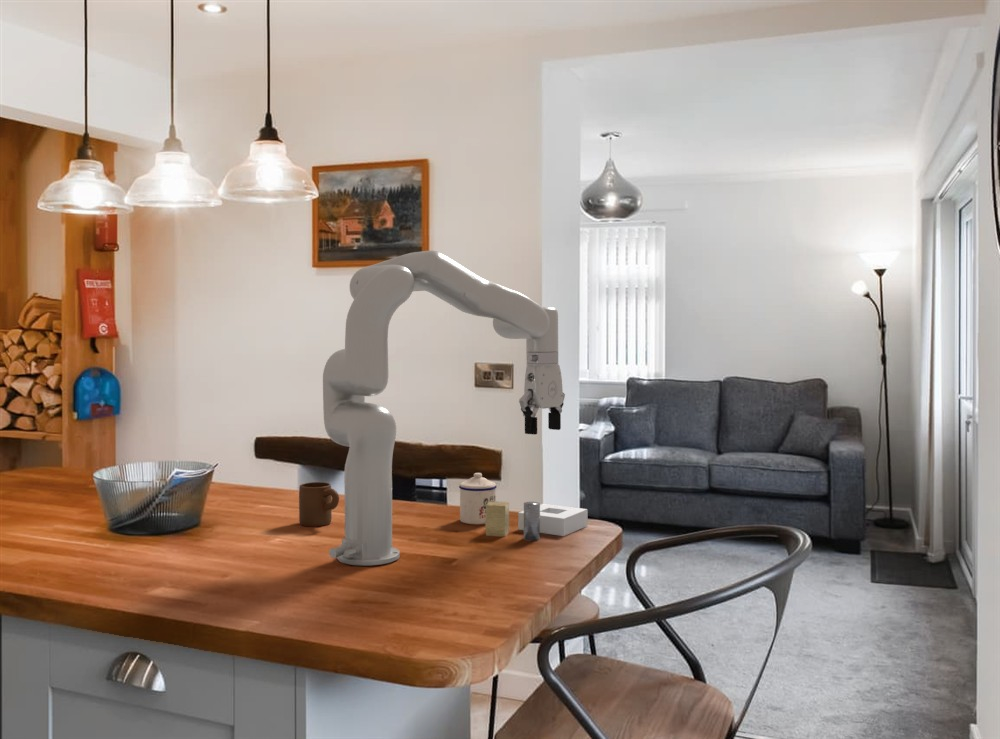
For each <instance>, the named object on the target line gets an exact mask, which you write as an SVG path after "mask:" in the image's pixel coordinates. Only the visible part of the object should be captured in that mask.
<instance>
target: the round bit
mask: <svg viewBox="0 0 1000 739" xmlns="http://www.w3.org/2000/svg"><path fill="white" fill-rule="evenodd" d="M540 505H541V503H540V502H537V501H526V502H525V501H524V502H523V511H524V530H523V540H525V541H528V542H535V541H539V540H540V539H541V537H540V536H541V533H540Z"/></svg>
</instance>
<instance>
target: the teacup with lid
mask: <svg viewBox="0 0 1000 739" xmlns="http://www.w3.org/2000/svg"><path fill="white" fill-rule="evenodd" d="M458 488H459V520H460V522H461V523H464V524H467V525H475V526H476V525H479V526H481V525H486V504H487V503H489V502H490V501H496V497H497V496H496V492H497V491H496V489H497V484H496V483H495V481H492V480H489V479H487V478H485V477H483V474H482V472H475V473H473V476H472V477H470V478H469V479H466V480H464V481H462V482H460V483H459V486H458Z"/></svg>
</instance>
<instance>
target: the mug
mask: <svg viewBox="0 0 1000 739" xmlns="http://www.w3.org/2000/svg"><path fill="white" fill-rule="evenodd" d="M298 488H299V491H298V506H299V507H298V510H299V511H298V513H299V515H298V516H299V517H298V519H299V524H300V525H301V526H304V527H309V528H310V527H312V528H313V527H324V526H327V525H330V524H331V523H332V517H333V516H332V510H335V509H336V508H337V507H338V505H339V502H340V496H339V492H338V491H337V490H336V489H334V488H332V484H331V483H329V482H324V481H323V482H321V481H319V482H318V481H316V482H315V481H313V482H305V483H301V484H299V487H298Z"/></svg>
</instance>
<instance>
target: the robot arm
mask: <svg viewBox="0 0 1000 739" xmlns="http://www.w3.org/2000/svg"><path fill="white" fill-rule="evenodd" d="M420 291H421V292H423V291H424V292H428V293H430V294H432V295H433V296H435V297H437V298H439V299H441V300H442V301H444V302H445V303H447V304H449V305H450V306H453V307H454V308H455V309H457V310H459V311H461V312H462V313H465V314H468V315H472V316H476V317H483V318H489V319H492V327H493V330H494V331H495V333H496V334H497V335H499V336H500V337H502V338H505V339H508V340H510V339H511V340H517V339H518V340H523V339H524V340H526V344H525V345H526V349H525V350H526V369H525V375H524V388H523V389H524V392H523V393H524V394H523V395H522V396H521V397H520V398H519V400H518V403H519V406H520V412H522V416H523V418H524V434H526V435H538V417H537V412H538V410H540V409H542V410H543V409H548V410H549V412H547V413H548V415H547V418H548V429H549V430H552V431H553V430H555V431H560V430H561V427H562V426H561V425H562V424H561V422H562V421H561V419H562V418H561V417H562V416H561V413H562V412H563V409H562V408H563V407H564V401H565V399H566V398H565V397H566V394H565V392H564V391H563V390H564V389H563V378H562V371H561V368H560V364H559V313H558V310H557V308H555V307H553V306H552V307H551V306H541V305H540V304H539V303H537V302H536V301H534V300H533V299H531V298H529V297H528V296H526V295H524V294H522V293H521V292H518V291H516V290H513V289H511V288H509V287H506V286H503V285H501V284H499V283H496V282H494V281H491V280H487V279H485V278H482V277H481V276H479V275H478V274H476V273H475V272H473V271H471V270H469V269H468V268H466V267H464V266H463V265H461V264H460V263H458V262H457V261H455V260H454V259H452V258H450V257H449V256H447V255H445V254H443V253H442V252H439V251H436V250H423V251H414V252H409V253H405V254H402V255H399V256H396V257H392V258H390V259H387V260H384V261H381V262H378V263H374V264H371V265H367V266H365V267H361V268H360V269H358V270H356V271H355V273H353V275H352V277H351V279H350V281H349V292H350V295H351V297H352V299H353V301H352V303H351V304H350V306H349V309H348V312H347V314H346V319H345V320H346V321H345V335H344V348H343V349H339V350H337V351H335V352H334V353H332V354H331V355H330V356H329V358H328V359H327V361H326V362H325V365H324V368H323V371H322V372H323V373H322V401H323V402H322V404H323V407H322V408H323V424H324V429H325V431H326V434H327V436H328V437H329V438H330V439H331V441H332V442H334V443H336V444H338V445H341V446H343V447H347V448H348V447H349V448H348V453H347V456H346V460H345V464H344V477H343V478H344V538H341V544H340V545H339V546H335V547H332V548H330V549H329V552H328V554H329V557H330V558H332V559H336V558H337V561H339V562H340V563H342V564H345V565H350V566H360V567H361V566H364V567H365V566H367V567H368V566H378V565H386V564H391V563H393V562H395V561H397V560H399V558H400V557H401V556H400V555H401V551H400V550H399V549H398V548H396V547H393V475H392V474H393V472H392V471H393V454H394V448H395V442H396V436H397V425H396V424H397V423H396V420H395V418H394V416H393V414H392V413H391V412H390V411H389V410H388V409H387V408H386V407H384V406H382V405H379V404H377V403H373V402H372V403H371V402H366V401H365V398H366V397H375V396H378V395H380V394H381V393H382V392H384V391H385V389H386V388H387V385H388V383H389V346H388V344H389V340H388V339H389V338H388V337H389V326H390V322H391V319H392V317H393V315H394V314H395V312H396V311H397V310H398V309H399V307H400V306H401V305H403V304H404V303H405V302H407V301H408V300H409V299H410V297H411V295H412V294H413V293H414V292H420Z"/></svg>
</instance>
